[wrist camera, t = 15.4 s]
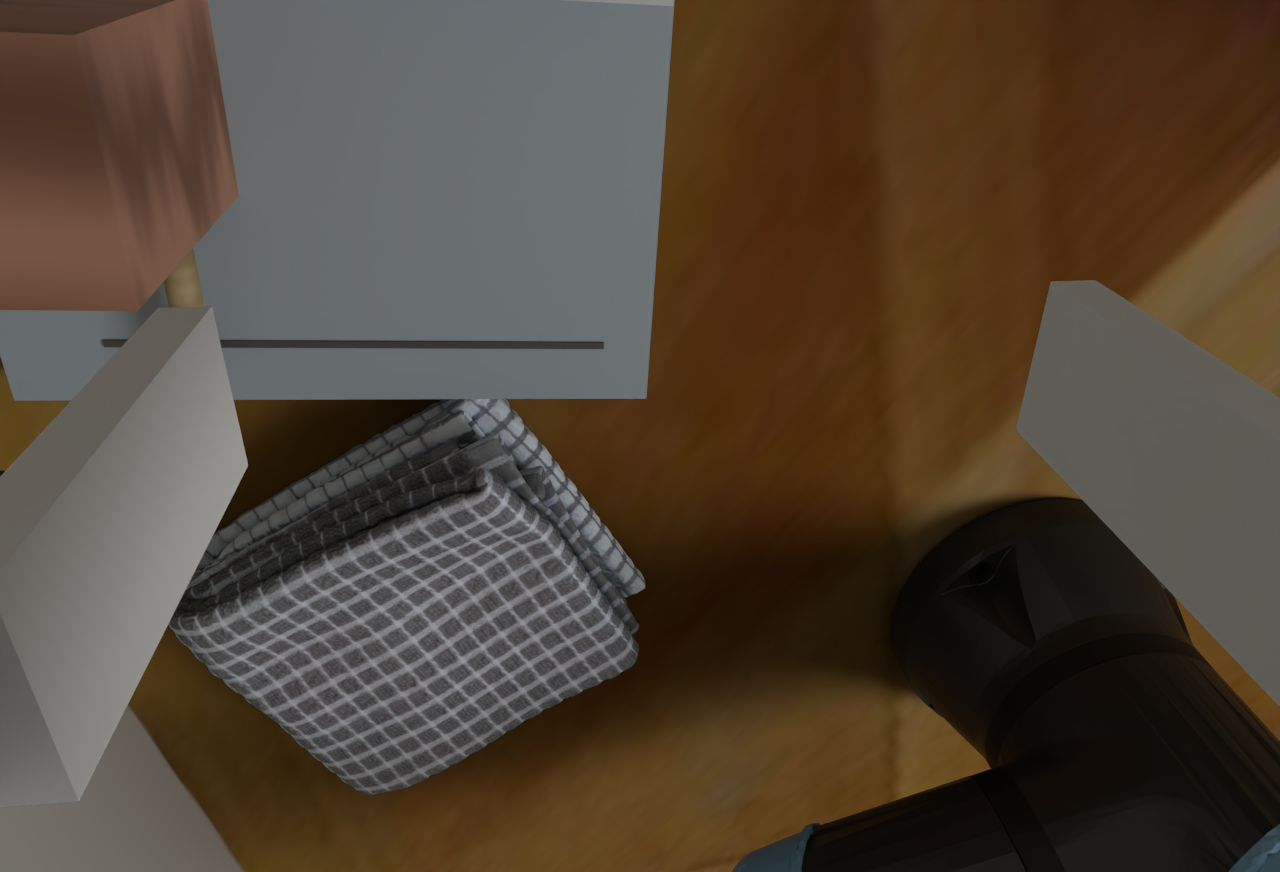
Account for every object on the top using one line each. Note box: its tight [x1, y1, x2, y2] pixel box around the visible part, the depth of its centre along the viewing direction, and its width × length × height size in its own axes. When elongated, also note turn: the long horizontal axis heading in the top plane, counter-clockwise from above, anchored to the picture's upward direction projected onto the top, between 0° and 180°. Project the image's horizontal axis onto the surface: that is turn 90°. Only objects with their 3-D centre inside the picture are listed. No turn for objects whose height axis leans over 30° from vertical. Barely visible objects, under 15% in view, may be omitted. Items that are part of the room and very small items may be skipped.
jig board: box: [0, 0, 674, 401], centre depth 35 cm, size 18×26×6 cm
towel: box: [168, 399, 645, 795], centre depth 44 cm, size 15×18×8 cm
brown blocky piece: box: [0, 0, 239, 311], centre depth 30 cm, size 14×4×11 cm, turn 176°
